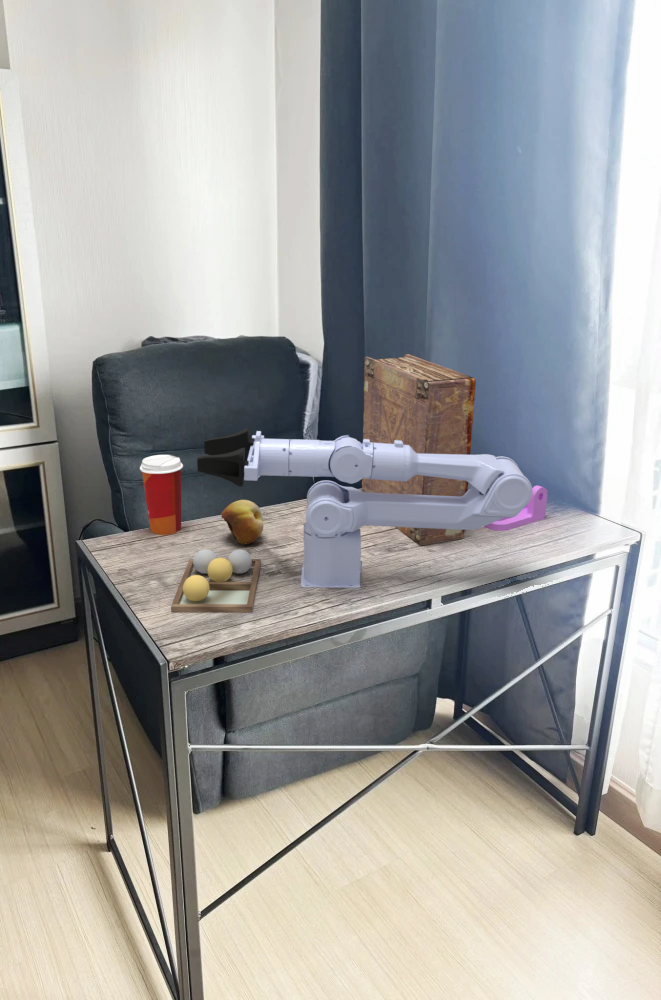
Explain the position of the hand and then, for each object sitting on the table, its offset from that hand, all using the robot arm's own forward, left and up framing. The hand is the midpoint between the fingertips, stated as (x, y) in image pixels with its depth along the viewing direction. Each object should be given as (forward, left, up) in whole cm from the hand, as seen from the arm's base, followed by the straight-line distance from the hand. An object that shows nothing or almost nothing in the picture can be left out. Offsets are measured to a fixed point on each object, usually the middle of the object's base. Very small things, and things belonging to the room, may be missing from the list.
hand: (201, 455), depth 124 cm
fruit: (-4, -15, -21) cm, 27 cm away
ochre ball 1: (+1, +8, -21) cm, 22 cm away
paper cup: (+11, -20, -21) cm, 31 cm away
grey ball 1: (0, -1, -21) cm, 21 cm away
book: (-36, -27, -21) cm, 50 cm away
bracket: (-55, -26, -22) cm, 65 cm away
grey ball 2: (-5, -1, -21) cm, 21 cm away
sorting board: (-2, +4, -21) cm, 22 cm away
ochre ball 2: (-2, +2, -21) cm, 21 cm away
